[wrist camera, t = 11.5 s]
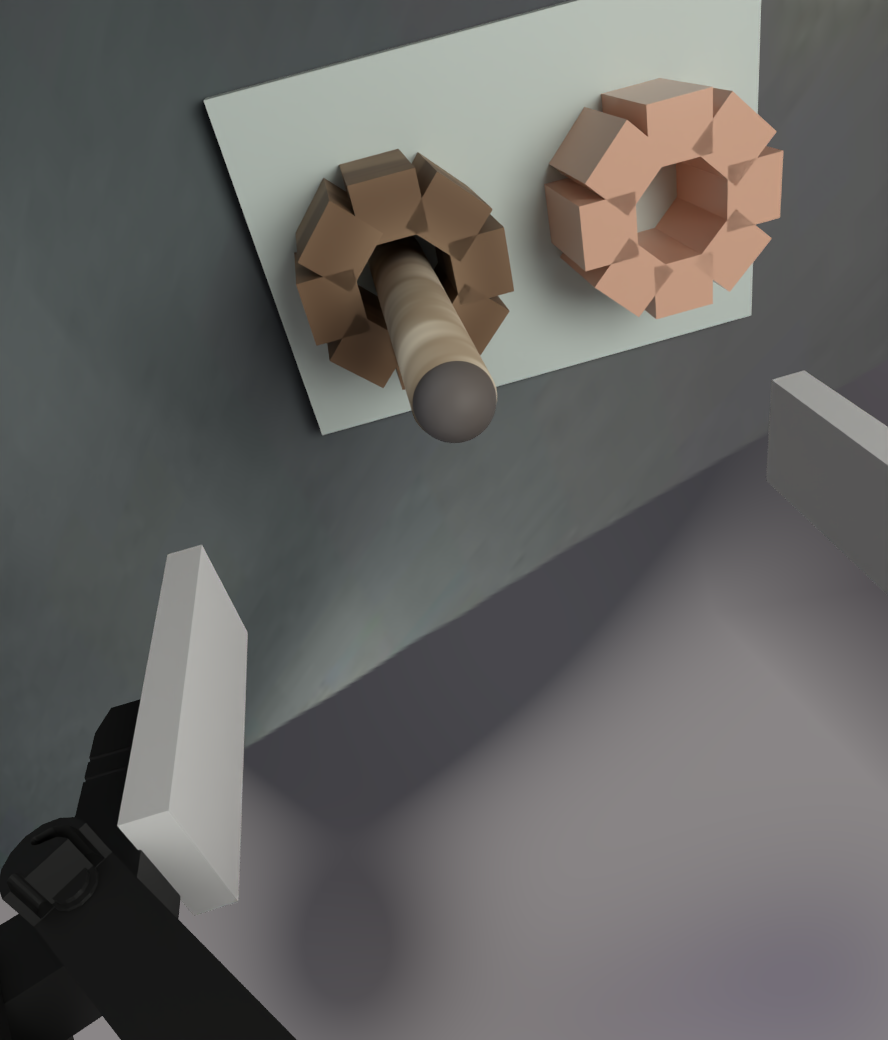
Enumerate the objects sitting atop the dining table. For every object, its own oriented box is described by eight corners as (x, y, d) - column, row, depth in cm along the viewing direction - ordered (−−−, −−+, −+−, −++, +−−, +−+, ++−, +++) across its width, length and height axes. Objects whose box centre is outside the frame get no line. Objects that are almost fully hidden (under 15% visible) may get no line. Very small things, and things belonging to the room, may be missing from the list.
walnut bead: (331, 365, 38) (337, 408, 34) (271, 182, 33) (270, 206, 28) (498, 319, 38) (524, 356, 34) (465, 130, 33) (491, 146, 29)
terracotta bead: (558, 302, 38) (592, 337, 34) (535, 111, 33) (570, 125, 29) (723, 256, 38) (776, 285, 34) (725, 60, 33) (787, 66, 29)
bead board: (321, 425, 41) (322, 435, 40) (205, 97, 31) (203, 100, 30) (739, 308, 41) (751, 315, 40) (748, -47, 32) (762, -49, 31)
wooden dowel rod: (375, 291, 36) (427, 469, 22) (360, 237, 34) (406, 390, 20) (427, 277, 36) (513, 446, 22) (415, 222, 34) (498, 365, 20)
